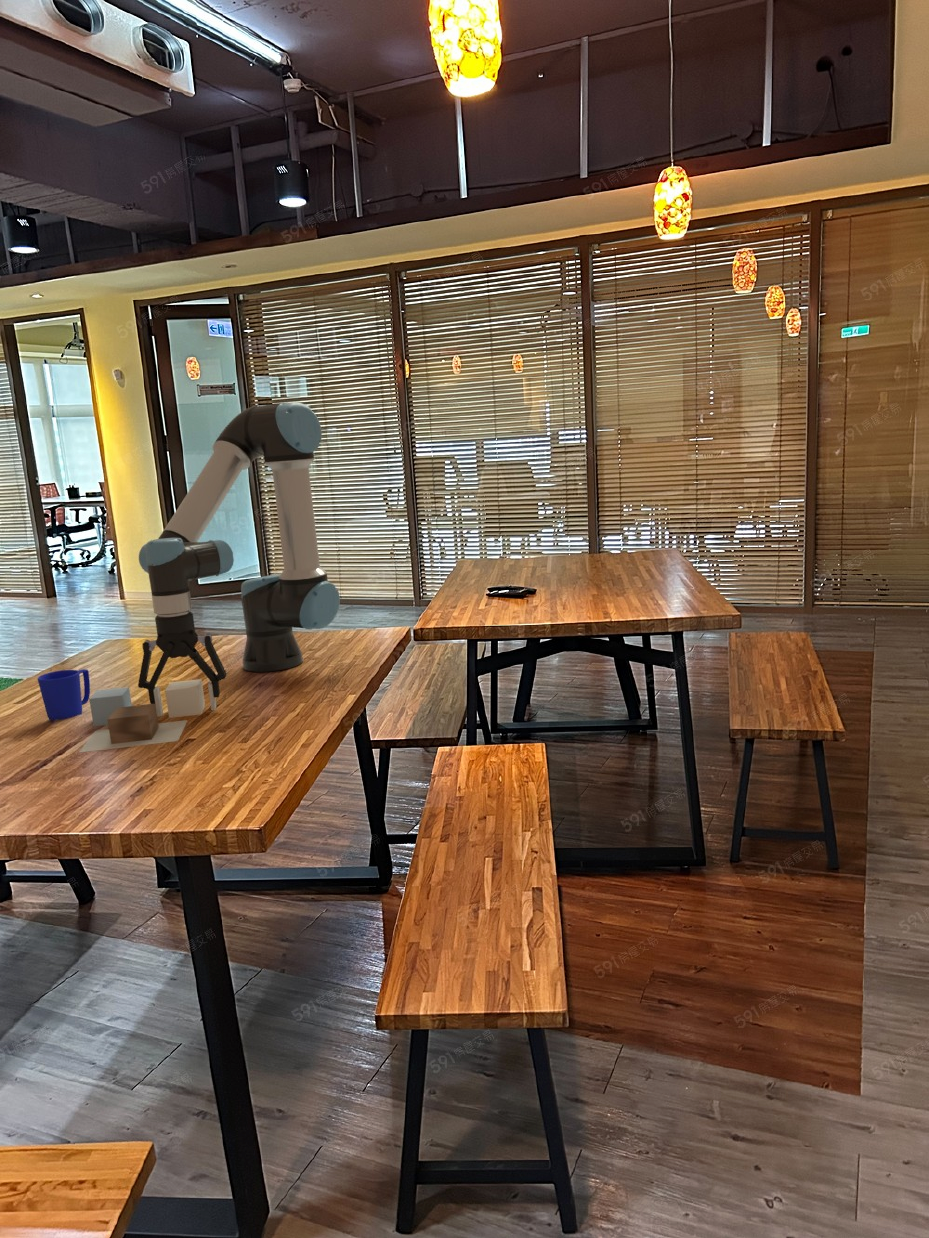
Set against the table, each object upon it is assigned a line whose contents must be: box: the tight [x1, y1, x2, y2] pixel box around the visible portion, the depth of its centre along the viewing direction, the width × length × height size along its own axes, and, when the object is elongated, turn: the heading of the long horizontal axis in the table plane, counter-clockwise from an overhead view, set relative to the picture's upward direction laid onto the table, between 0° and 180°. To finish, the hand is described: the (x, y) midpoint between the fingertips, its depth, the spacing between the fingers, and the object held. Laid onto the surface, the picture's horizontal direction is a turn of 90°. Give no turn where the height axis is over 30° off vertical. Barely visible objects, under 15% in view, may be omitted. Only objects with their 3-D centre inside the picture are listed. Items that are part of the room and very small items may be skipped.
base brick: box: [107, 703, 159, 744], centre depth 167 cm, size 8×8×5 cm
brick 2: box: [164, 678, 206, 719], centre depth 181 cm, size 6×6×7 cm
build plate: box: [78, 719, 189, 753], centre depth 168 cm, size 18×13×1 cm
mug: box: [37, 669, 91, 723], centre depth 187 cm, size 8×12×10 cm
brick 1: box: [88, 686, 133, 727], centre depth 179 cm, size 6×6×7 cm
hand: (187, 714), depth 182 cm, fingers open, 10 cm apart
